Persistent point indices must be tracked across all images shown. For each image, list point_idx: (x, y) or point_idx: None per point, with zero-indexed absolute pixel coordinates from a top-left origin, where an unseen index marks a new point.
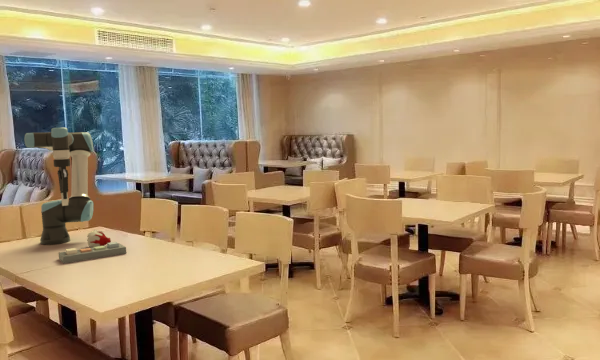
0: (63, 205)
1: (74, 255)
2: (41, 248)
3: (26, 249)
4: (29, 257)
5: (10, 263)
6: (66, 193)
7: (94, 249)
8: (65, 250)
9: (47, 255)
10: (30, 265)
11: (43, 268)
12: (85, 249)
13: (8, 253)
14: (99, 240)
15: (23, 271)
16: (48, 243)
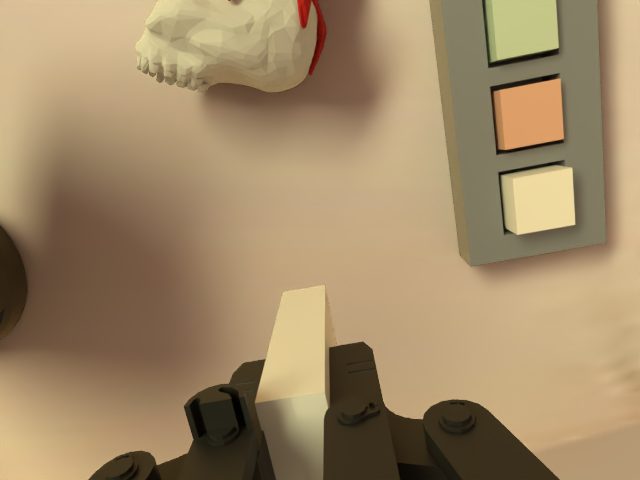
0: (336, 345)
1: (603, 182)
2: (114, 341)
3: (103, 407)
4: None
5: None
6: (382, 401)
7: (507, 58)
8: (518, 232)
9: None
10: (511, 375)
11: (620, 320)
12: (539, 116)
13: None
14: (317, 5)
15: (616, 396)
16: (18, 312)
